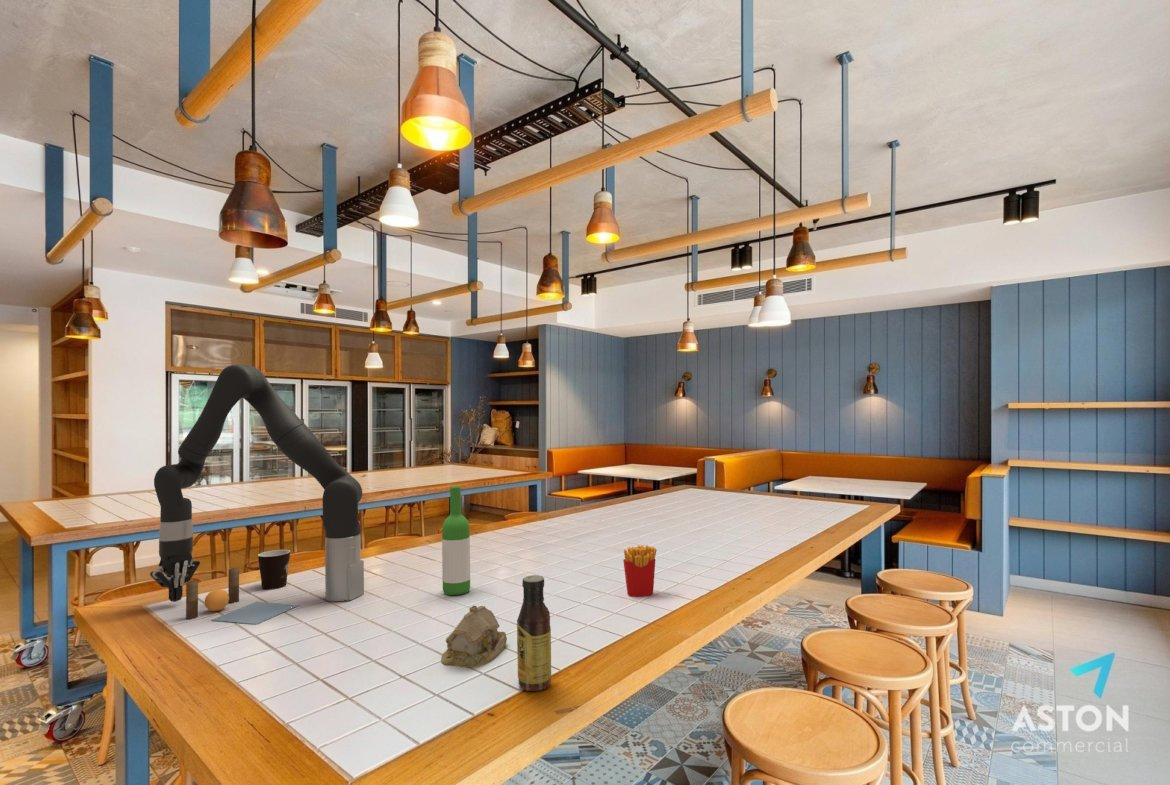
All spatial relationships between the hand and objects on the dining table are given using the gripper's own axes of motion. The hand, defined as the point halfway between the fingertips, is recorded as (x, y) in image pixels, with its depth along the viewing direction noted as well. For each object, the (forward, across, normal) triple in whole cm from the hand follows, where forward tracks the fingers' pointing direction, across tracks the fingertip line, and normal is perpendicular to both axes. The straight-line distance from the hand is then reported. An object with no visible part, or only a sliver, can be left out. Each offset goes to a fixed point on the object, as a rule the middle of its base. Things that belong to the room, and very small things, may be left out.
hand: (175, 600), depth 154 cm
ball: (-1, -1, -15) cm, 15 cm away
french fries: (+2, +34, -123) cm, 128 cm away
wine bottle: (+2, +26, -71) cm, 76 cm away
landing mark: (+2, 0, -27) cm, 27 cm away
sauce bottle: (+2, -22, -112) cm, 114 cm away
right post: (+2, +6, -13) cm, 15 cm away
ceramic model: (+2, -11, -95) cm, 95 cm away
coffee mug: (+2, +22, -13) cm, 26 cm away
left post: (+2, -6, -13) cm, 15 cm away
